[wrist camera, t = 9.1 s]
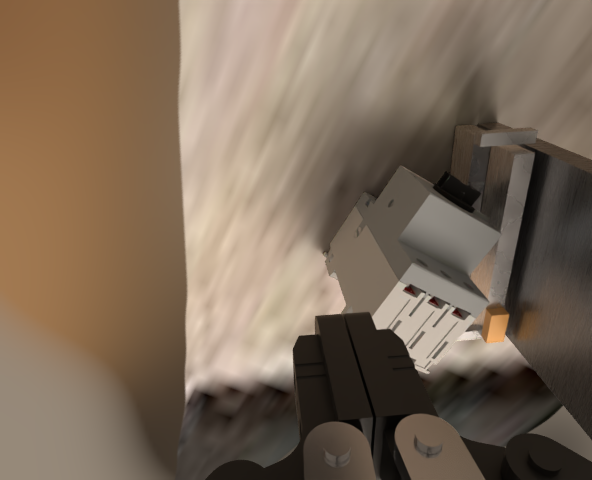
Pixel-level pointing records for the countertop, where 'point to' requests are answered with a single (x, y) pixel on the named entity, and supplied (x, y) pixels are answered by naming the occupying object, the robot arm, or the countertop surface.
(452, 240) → the circuit breaker
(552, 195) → the din rail panel
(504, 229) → the rail
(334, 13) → the countertop surface
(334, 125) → the countertop surface
